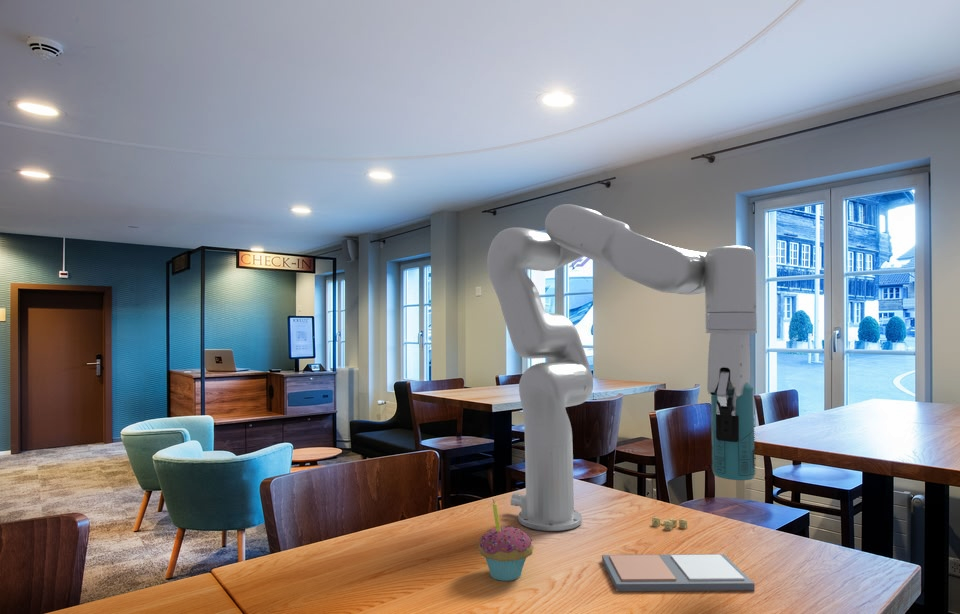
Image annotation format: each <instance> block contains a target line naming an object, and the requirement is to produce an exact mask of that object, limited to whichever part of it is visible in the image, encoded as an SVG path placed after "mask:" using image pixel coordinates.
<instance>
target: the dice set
mask: <svg viewBox="0 0 960 614" xmlns="http://www.w3.org/2000/svg"><path fill="white" fill-rule="evenodd" d="M651 523H652V527H657V528H658V527H661V526H663V528H664V530H665V531H672V530H673V528H675V527H677V526H678V527H679V529H683V530H684V529H686V530H687V529H688V520H687V519H683V518H680V519H679V520H678V525H677V519H675V518H674V517H673V518H669V519H663V521H661V518H660V517H657V516H656V517H655V516H654V517H652V518H651Z"/></svg>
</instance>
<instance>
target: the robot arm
mask: <svg viewBox="0 0 960 614" xmlns="http://www.w3.org/2000/svg"><path fill="white" fill-rule="evenodd" d="M544 229H545V230H544V231H541V230H537V229H533V228H527V227H526V228H525V227H518V226H517V227H509V228H505V229H503V230H501V231H499V232H498V233H497V234H496V235H495V237H494V238H493V239H492V241H491V244H490V245H489V249H488V251H487V252H488V253H487V262H486V263H487V273H488V275H489V278H490V282H491V285H492V287H493V289H494V291H495V294H496V297H497V299H498V303H499V305H500V309H501V312H502V316H503V318H504V321H505V322H504V323H505V325H506V328H507V331H508V335H509V338H510V340H511V344H512V347H513V349H514V351H515V353H516V354H517V355H518V356H519V357H521V358H524V359H546V362H538V363H536V364H533V365H531V366H529V367H528V368H527V369H525V370H524V372H523V373H522V374H521V377H520V379H519V385H518V392H519V399H520V404H521V408H522V415H523V425H524V453H525V455H524V459H525V460H524V462H525V463H524V465H525V467H524V468H525V469H524V470H525V495H523V494H521V493H517V492H516V493H515V492H514V493H512V495H511V499H510V505H511V506H514V507H520V509H521V511H520V512H518V522H519V523H520V524H521V525H522V526H524V527H526V528H528V529H532V530H537V531H544V532H545V531H546V532H561V531H567V530H572V529H575V528H578V527H579V526H580V525H581V524H582V522H583V516H582V514H581V513H580V512H579V511H577V510H576V509H575V506H574V505H575V504H574V502H575V501H574V500H575V498H574V497H575V496H574V495H575V494H574V454H573V453H574V452H573V450H574V449H573V446H574V445H573V430H572V429H573V428H572V425H571V421H570V417H569V415H568V413H567V410H566V408H568V407H574V406H575V407H576V406H578V405H581V404H584V403H585V402H586V401H588V399H589V398H590V397H591V395H592V393H593V390H594V378H593V373H592V369H591V367H590V364H589V360H588V357H587V355H586V352H585V348H584V346H583V343H582V340H581V338H580V337H581V336H580V335H579V332H578V330H577V328H576V326H575V324H574V323H573V322H572V321H571V320H570V319H569V318H568V317H567V316H565V315H562V314H560V313H554V312H553V313H551V312H549V313H548V312H547V311H546V310H545V306H544V305H543V303H542V300H541V296H540V293H539V290H538V288H537V286H536V285H535V283H534V282H533V280H532V279H531V278H530V277H529V275H528V274H527V272H526V270H531V271H540V272H549V271H550V272H551V271H554V270H558V269H560V268H562V267H565V266H566V265H569V264H570V263H572V262H574V261H578V259H581V258H583V257H585V258H587V259H589V260H592V261H595V262H596V263H599V264H601V265H603V266H605V267H606V268H608V269H609V270H612V271H613V272H615V273H617V274H619V275H621V276H622V277H624V278H626V279H629V280H631V281H632V282H636V283H637V284H640V285H642V286H645V287H647V288H650V289H652V290H655V291H656V292H659V293H660V292H662V293H666V294H679V295H688V296H689V295H693V296H694V295H700V294H705V295H704V297H705V298H704V299H705V300H704V301H705V303H704V305H705V333H706V334H709V335H710V336H709V344H708V358H707V383H706V384H707V388H706V389H707V390H706V392H707V394H708V395H709V396H710V397H711V396H713V395H714V394H713V392H717V407H716V439H717V440H720V441H729V442H738V441H739V416H737V415H736V414H737V399H738V397H740V396H741V395H743V389H744V386H745V384H746V383H747V382H748V383H749V384H750V385H751V347H750V346H751V345H750V334H757V332H758V331H757V329H758V328H757V326H758V325H757V323H758V321H757V318H758V317H757V315H758V314H757V259H756V258H757V256H756V252H755V250H754V249H753V248H751V247H750V246H745V245H729V246H728V245H727V246H718V247H713V248H711V249H709V250H708V251H696V250H689V249H685V248H681V247H676V246H672V245H669V244H665V243H663V242H660V241H658V240H654V239H652V238H650V237H648V236H647V237H646V236H644V235H642V234H639V233H637V232H634V231H633V230H631V227H630V226H629V225H628V224H627V223H626V222H623V221H621V220H617V219H615V218H612V217H609V216H606V215H604V214H602V213H601V212H599V211H598V210H594V209H593V208H592V209H591V208H588V207H585V206H584V207H583V206H580V205H576V204H572V203H563V204H559V205H557V206H555V207H553V208H552V209H551V210H550V211H549V212H548V214H547V216H546V218H545V221H544ZM717 385H718V390H716V388H717ZM715 390H716V391H715ZM728 390H729V391H734V395H731V394H728ZM731 400H732V401H731ZM731 403H732V404H731Z"/></svg>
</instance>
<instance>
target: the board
mask: <svg viewBox="0 0 960 614" xmlns="http://www.w3.org/2000/svg"><path fill="white" fill-rule="evenodd" d="M601 560H602V561H601V562H602V564H603V565H604V568H605V570H606V572H607V574H608V577H609V578H610V580H611V582H612V583H613V586H614V588H615V590H616V592H681V591H682V592H687V591H688V592H689V591H690V592H693V591H698V592H702V591H704V592H705V591H706V592H707V591H709V592H710V591H715V592H717V591H718V592H719V591H755V589H756V587H755V582H754V581H753V580H751V578H750V577H748V576H747V575H746V574H745V573H744V572H743V571H742V570H741V569H740V568H739V567H738V566H737V565H736V564H735V563H734V562H733V561H732V560H731V559H730V558H729V557H728V556H726V555H725V553H707V554H706V553H697V554H696V553H695V554H693V553H692V554H690V553H688V554H687V553H684V554H683V553H682V554H681V553H680V554H675V553H674V554H669V553H668V554H602V555H601Z"/></svg>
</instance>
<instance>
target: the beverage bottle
mask: <svg viewBox="0 0 960 614" xmlns="http://www.w3.org/2000/svg"><path fill="white" fill-rule="evenodd" d="M716 390H718V385H717V388H716ZM716 390H715V391H716ZM713 394H714V395H713V396H711V395H710V397H711V399H710V401H711V402H710V403H711V405H710V406H711V408H710V409H711V417H710V426H711V427H710V433H709V434H711V435H710V441H711V445H710V448H711V453H710V456H711V461H710V463H711V470H712V472H713V475H714V476H715V477H718V478H719V479H720V478H721V479H725V480H731V481H750V480H753V479H754V478H755V476H756V473H757V472H756V470H757V469H756V466H757V464H756V461H757V460H756V458H757V457H756V455H757V454H756V448H755V445H756V442H755V441H756V437H755V436H756V432H755V431H756V429H755V425H754V424H755V418H754V399H753V398H754V386H753V385H751V383H750V384H749V383H748V382H747V383H746V384H745V386H744V389H743V395H741V396H740V397H738V399H737V414H736V415H737V416H739V441H738V442H729V441H720V440H717V439H716V407H717V392H713ZM728 394H731V395H734V391H729V390H728ZM731 401H732V400H731ZM731 404H732V403H731Z"/></svg>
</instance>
